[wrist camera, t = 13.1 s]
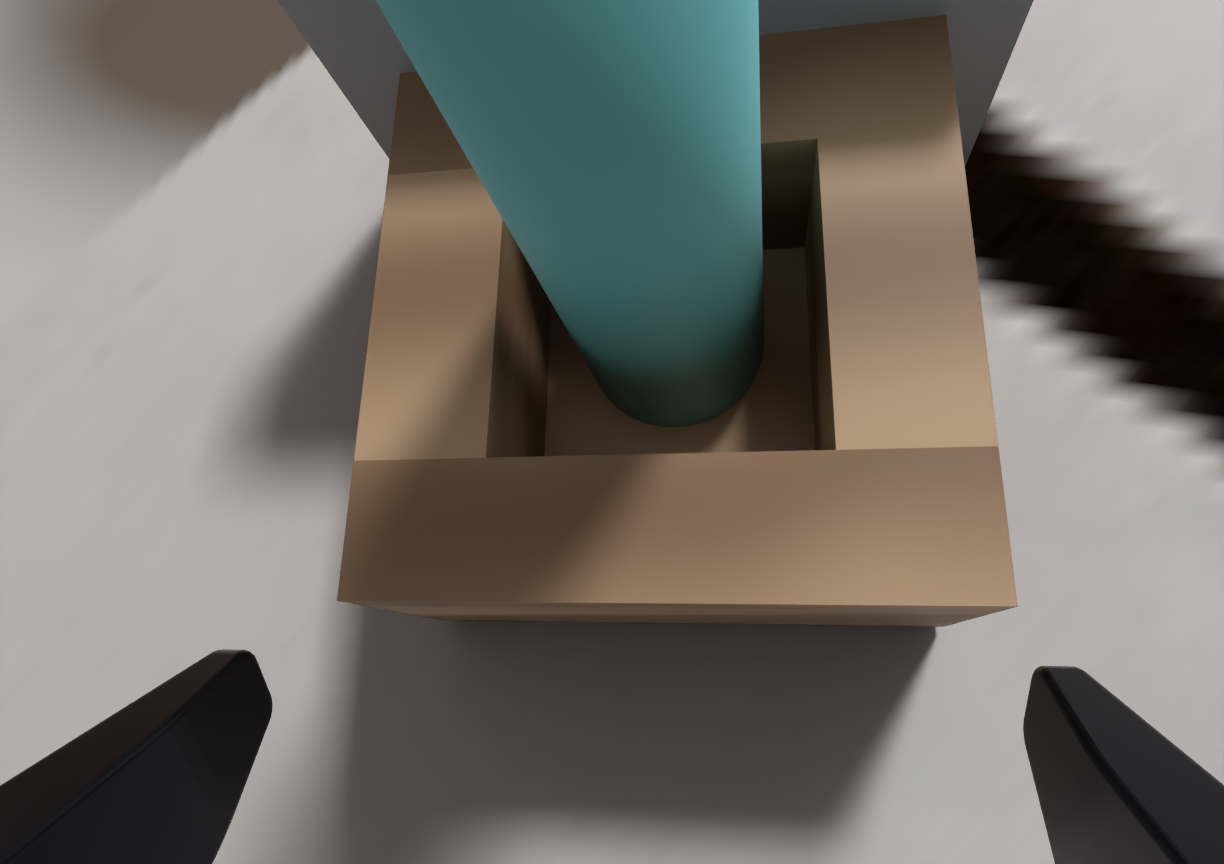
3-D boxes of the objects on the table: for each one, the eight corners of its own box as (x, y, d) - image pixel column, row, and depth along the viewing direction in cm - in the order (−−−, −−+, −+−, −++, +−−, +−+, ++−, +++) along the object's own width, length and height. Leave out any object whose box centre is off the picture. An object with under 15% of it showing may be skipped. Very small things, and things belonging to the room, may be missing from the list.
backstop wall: (963, 171, 20) (1118, -206, 11) (427, 212, 22) (225, -76, 14) (954, 103, 20) (1096, -303, 12) (433, 150, 23) (243, -162, 14)
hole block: (943, 626, 17) (1017, 606, 12) (442, 620, 19) (337, 600, 14) (900, 171, 20) (946, 15, 15) (476, 204, 22) (399, 73, 17)
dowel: (720, 453, 18) (621, -1, 6) (562, 389, 19) (212, -99, 7) (791, 298, 18) (831, -383, 7) (635, 244, 19) (429, -415, 8)
